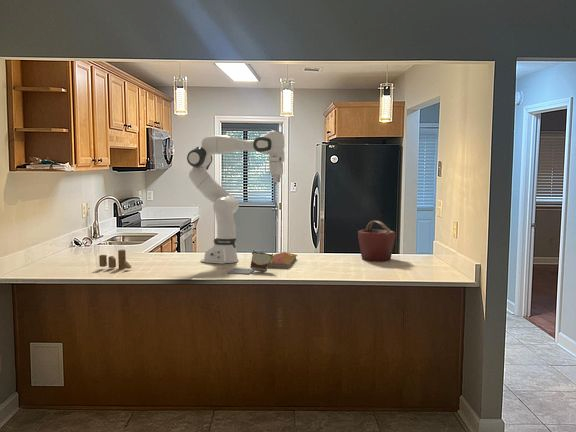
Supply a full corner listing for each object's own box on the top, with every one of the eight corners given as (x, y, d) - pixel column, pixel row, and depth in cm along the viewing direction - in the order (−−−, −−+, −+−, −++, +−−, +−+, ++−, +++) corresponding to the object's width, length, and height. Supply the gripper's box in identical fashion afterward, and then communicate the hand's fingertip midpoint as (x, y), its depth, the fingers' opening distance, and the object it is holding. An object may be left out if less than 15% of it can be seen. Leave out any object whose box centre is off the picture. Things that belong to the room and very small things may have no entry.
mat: (227, 273, 294) (227, 272, 294) (234, 269, 308) (234, 268, 308) (248, 274, 292) (248, 273, 292) (255, 270, 305) (255, 268, 305)
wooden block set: (98, 270, 301) (97, 252, 300) (104, 266, 310) (104, 248, 308) (129, 271, 300) (129, 253, 298) (135, 267, 308) (135, 249, 306)
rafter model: (288, 270, 308) (288, 259, 308) (263, 269, 311) (263, 258, 310) (297, 260, 343) (297, 250, 342) (274, 259, 345) (274, 250, 345)
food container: (271, 274, 299) (276, 257, 303) (268, 270, 293) (273, 253, 297) (251, 270, 303) (255, 254, 307) (247, 266, 298) (252, 250, 301)
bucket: (398, 264, 329) (399, 222, 327) (361, 264, 327) (362, 222, 325) (387, 258, 353) (388, 219, 351) (353, 258, 352) (354, 219, 350)
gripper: (275, 159, 331) (275, 182, 333) (267, 158, 311) (267, 182, 313) (285, 159, 330) (285, 182, 331) (278, 158, 310) (278, 182, 311)
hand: (276, 182), depth 322 cm, fingers open, 8 cm apart
